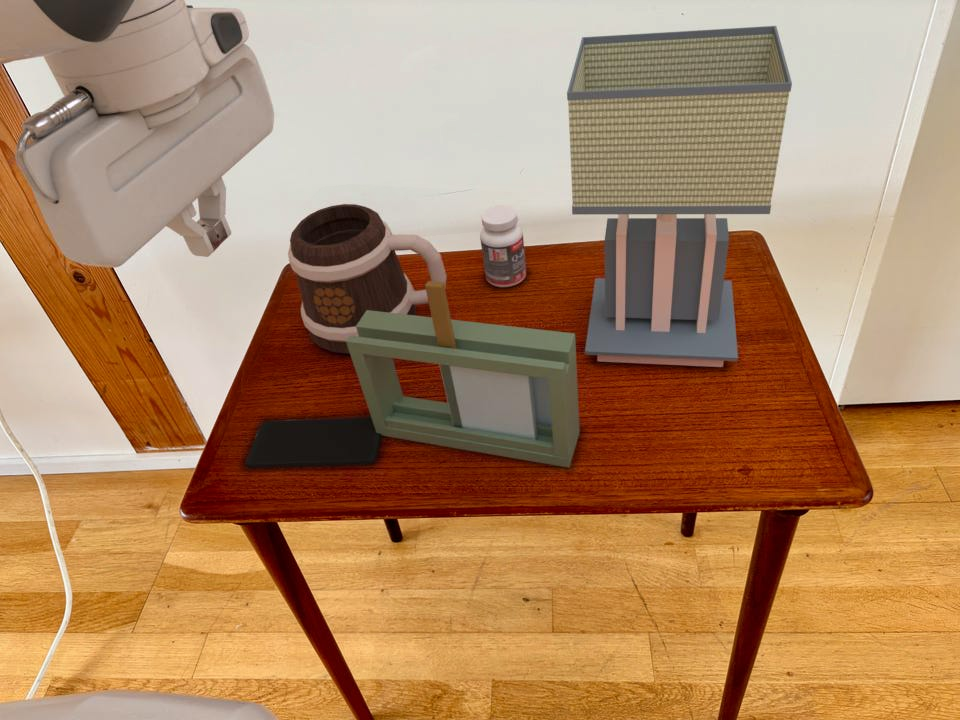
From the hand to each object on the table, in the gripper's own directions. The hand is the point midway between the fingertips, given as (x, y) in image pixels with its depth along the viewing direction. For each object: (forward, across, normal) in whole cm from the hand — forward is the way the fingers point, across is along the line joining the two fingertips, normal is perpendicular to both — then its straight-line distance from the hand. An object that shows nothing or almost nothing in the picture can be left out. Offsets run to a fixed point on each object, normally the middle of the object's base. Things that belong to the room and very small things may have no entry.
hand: (212, 245), depth 53 cm
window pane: (+29, +11, -16) cm, 35 cm away
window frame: (+31, +12, -13) cm, 36 cm away
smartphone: (+32, +6, +4) cm, 33 cm away
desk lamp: (+31, +32, -30) cm, 54 cm away
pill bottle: (+31, +40, -8) cm, 51 cm away
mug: (+31, +28, +6) cm, 42 cm away
